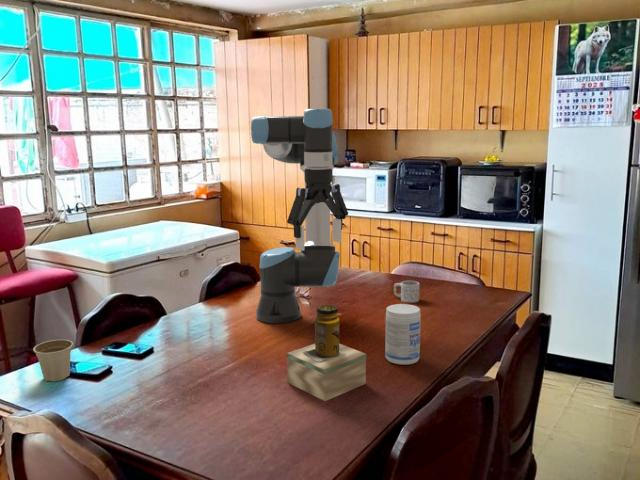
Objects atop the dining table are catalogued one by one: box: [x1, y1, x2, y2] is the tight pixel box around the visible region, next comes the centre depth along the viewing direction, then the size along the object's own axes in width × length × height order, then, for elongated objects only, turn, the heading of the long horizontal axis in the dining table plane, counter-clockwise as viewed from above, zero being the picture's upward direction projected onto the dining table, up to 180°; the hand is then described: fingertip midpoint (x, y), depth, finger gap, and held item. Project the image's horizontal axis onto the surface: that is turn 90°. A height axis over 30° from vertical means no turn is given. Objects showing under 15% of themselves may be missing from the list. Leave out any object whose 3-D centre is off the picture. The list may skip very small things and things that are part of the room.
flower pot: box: [32, 339, 74, 383], centre depth 154 cm, size 9×9×9 cm
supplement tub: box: [384, 303, 422, 366], centre depth 163 cm, size 10×10×15 cm
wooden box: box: [286, 343, 368, 402], centre depth 149 cm, size 14×14×8 cm
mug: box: [393, 280, 420, 304], centre depth 220 cm, size 10×7×7 cm, turn 58°
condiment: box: [303, 304, 346, 362], centre depth 146 cm, size 7×8×12 cm
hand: (319, 245), depth 162 cm, fingers open, 13 cm apart
